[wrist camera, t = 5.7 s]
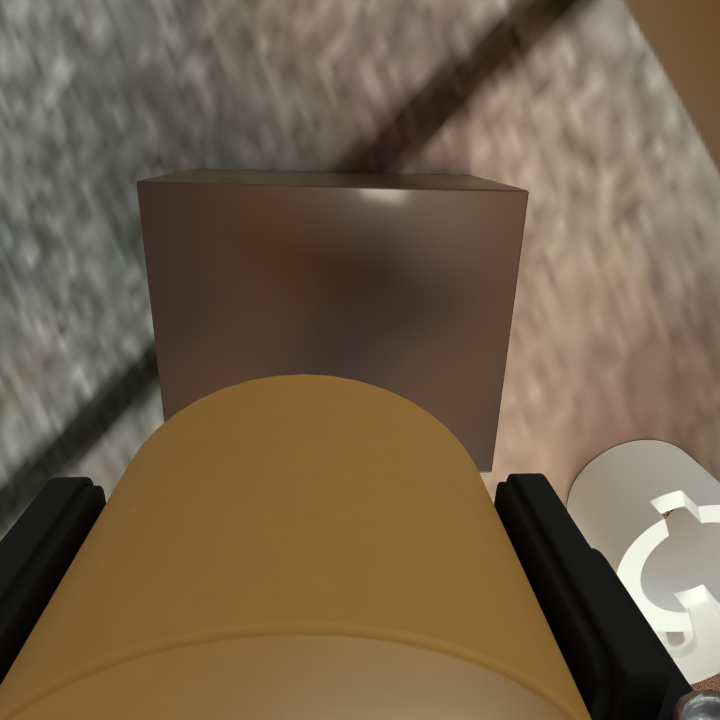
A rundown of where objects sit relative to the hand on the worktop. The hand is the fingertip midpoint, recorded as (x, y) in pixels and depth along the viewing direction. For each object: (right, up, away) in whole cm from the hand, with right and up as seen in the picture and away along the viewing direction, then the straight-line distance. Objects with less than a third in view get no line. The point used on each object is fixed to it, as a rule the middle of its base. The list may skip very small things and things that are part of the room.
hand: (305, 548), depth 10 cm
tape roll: (0, 0, 0) cm, 0 cm away
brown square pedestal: (0, +7, +21) cm, 22 cm away
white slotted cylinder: (+21, -10, +29) cm, 37 cm away
